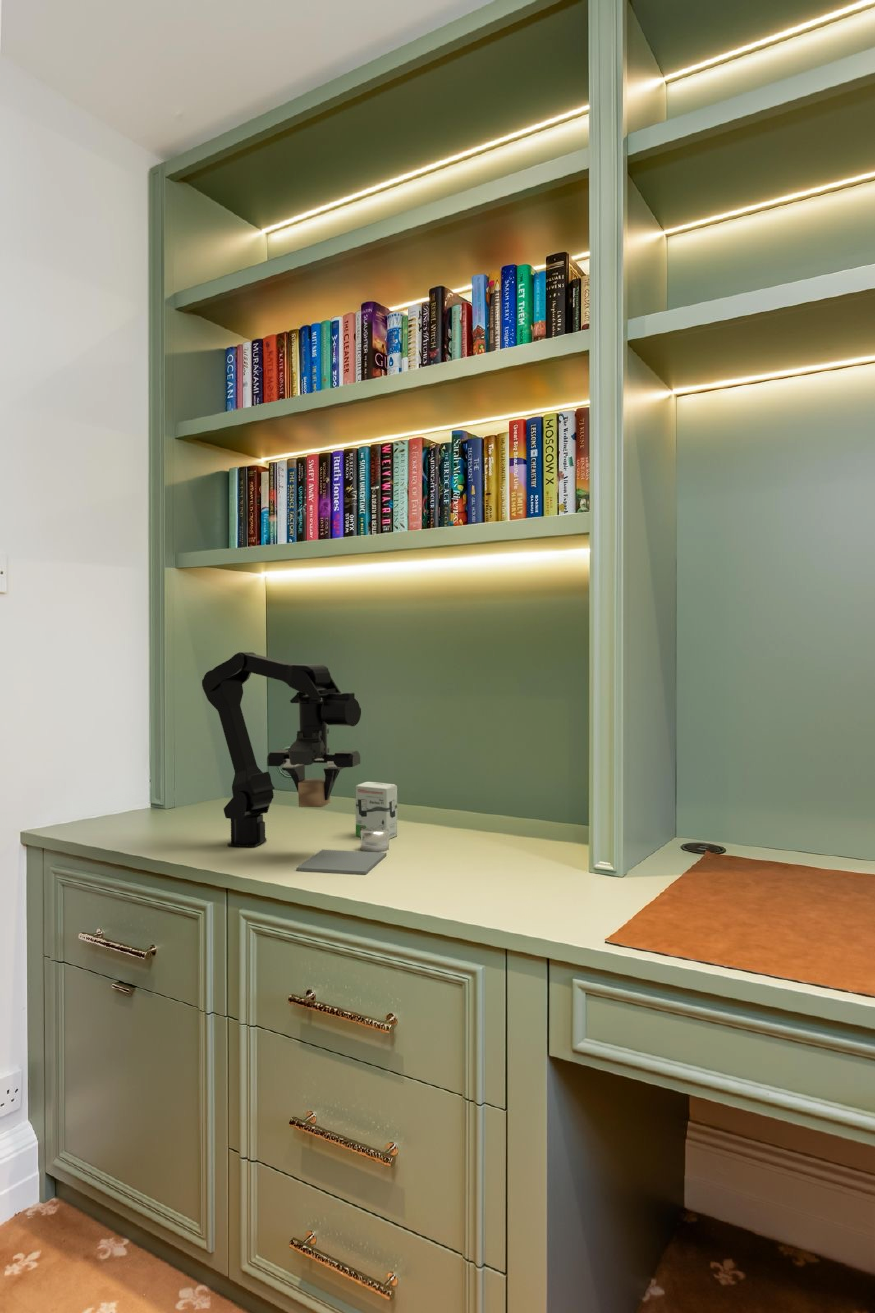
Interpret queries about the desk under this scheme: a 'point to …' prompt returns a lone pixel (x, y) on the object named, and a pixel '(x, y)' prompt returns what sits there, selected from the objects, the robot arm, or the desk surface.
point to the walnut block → (312, 793)
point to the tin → (374, 839)
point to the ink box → (376, 807)
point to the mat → (342, 862)
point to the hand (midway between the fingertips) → (314, 799)
